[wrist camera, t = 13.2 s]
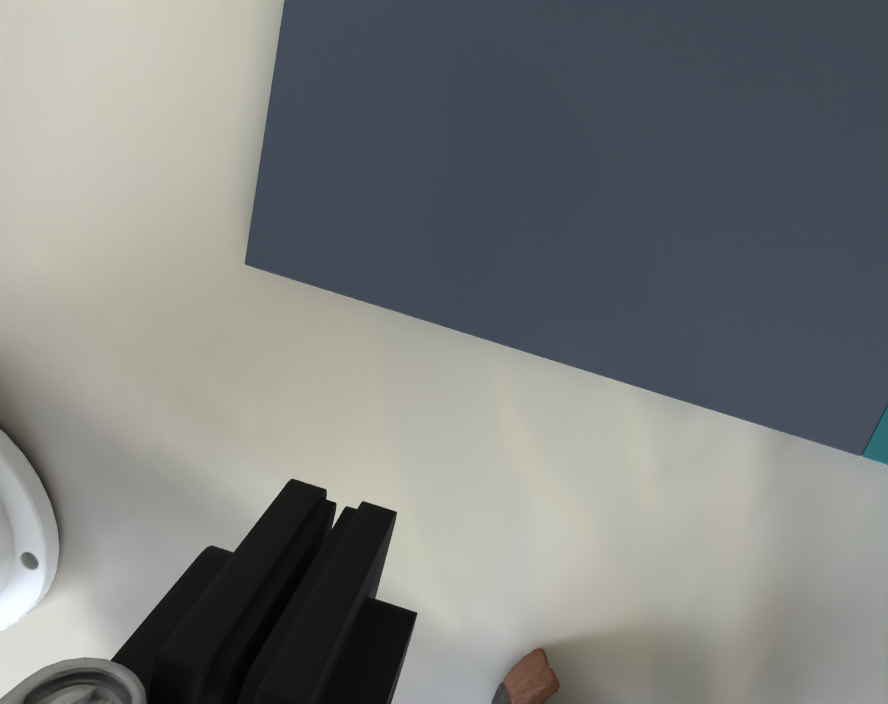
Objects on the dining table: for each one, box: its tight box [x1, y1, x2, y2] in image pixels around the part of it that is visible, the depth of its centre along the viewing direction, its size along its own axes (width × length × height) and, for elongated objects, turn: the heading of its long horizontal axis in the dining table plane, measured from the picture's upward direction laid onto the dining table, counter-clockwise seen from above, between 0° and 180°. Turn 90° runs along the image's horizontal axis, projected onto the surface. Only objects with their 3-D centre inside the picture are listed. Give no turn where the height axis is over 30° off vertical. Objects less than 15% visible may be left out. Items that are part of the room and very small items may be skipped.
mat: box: [245, 0, 888, 465], centre depth 22 cm, size 32×24×1 cm
